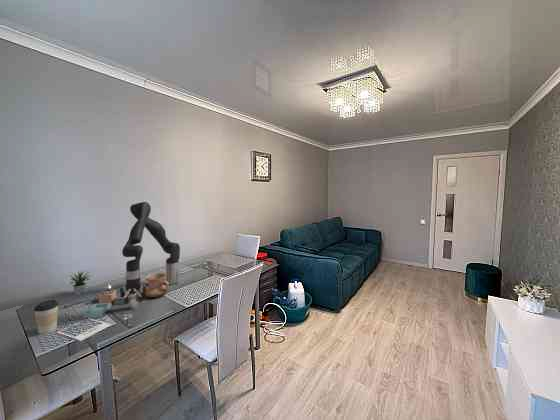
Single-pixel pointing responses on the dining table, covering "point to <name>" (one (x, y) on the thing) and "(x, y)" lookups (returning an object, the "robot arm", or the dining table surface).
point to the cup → (107, 297)
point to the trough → (97, 310)
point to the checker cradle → (121, 299)
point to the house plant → (79, 282)
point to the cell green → (133, 301)
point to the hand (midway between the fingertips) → (133, 302)
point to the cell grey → (107, 289)
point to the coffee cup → (46, 316)
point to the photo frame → (89, 332)
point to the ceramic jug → (156, 285)
